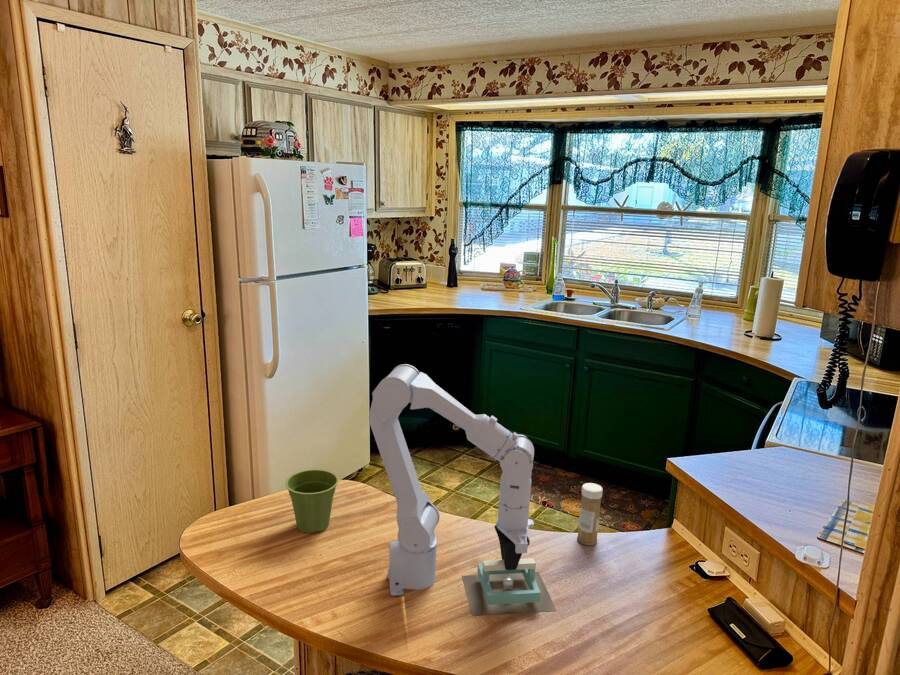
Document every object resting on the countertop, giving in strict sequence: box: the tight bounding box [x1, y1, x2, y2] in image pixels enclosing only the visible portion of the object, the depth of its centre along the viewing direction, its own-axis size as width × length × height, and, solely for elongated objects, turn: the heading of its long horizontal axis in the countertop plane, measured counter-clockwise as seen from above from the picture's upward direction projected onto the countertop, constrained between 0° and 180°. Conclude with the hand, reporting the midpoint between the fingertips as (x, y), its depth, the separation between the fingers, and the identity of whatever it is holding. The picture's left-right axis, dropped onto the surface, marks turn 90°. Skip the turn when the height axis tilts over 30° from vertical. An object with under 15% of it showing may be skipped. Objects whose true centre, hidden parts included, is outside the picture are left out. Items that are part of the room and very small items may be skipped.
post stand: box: [461, 571, 557, 617], centre depth 119 cm, size 16×12×4 cm
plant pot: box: [284, 468, 340, 534], centre depth 140 cm, size 12×12×11 cm
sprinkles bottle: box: [576, 482, 604, 546], centre depth 139 cm, size 5×5×14 cm
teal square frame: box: [477, 557, 541, 605], centre depth 119 cm, size 10×10×5 cm
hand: (509, 565), depth 118 cm, fingers closed on teal square frame
